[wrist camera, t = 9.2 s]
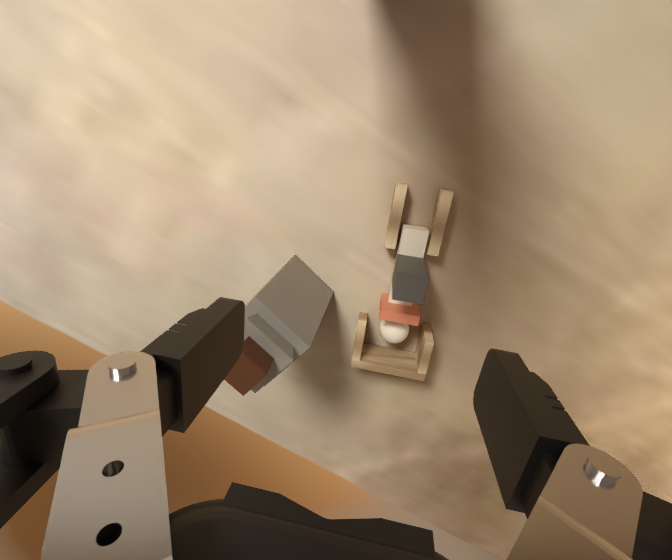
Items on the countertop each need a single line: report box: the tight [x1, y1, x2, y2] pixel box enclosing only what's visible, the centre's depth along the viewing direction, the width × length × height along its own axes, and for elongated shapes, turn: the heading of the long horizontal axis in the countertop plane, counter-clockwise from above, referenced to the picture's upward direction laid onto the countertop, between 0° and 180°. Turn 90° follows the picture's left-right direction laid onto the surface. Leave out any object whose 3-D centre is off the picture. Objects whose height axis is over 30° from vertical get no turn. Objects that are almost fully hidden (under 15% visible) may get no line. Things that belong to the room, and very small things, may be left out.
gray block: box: [379, 224, 430, 326], centre depth 37 cm, size 10×4×8 cm, turn 173°
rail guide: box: [385, 183, 454, 256], centre depth 38 cm, size 7×6×2 cm
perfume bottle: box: [224, 254, 334, 396], centre depth 36 cm, size 7×7×18 cm
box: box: [350, 312, 434, 381], centre depth 43 cm, size 5×9×4 cm, turn 83°
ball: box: [380, 320, 409, 343], centre depth 42 cm, size 4×4×4 cm
